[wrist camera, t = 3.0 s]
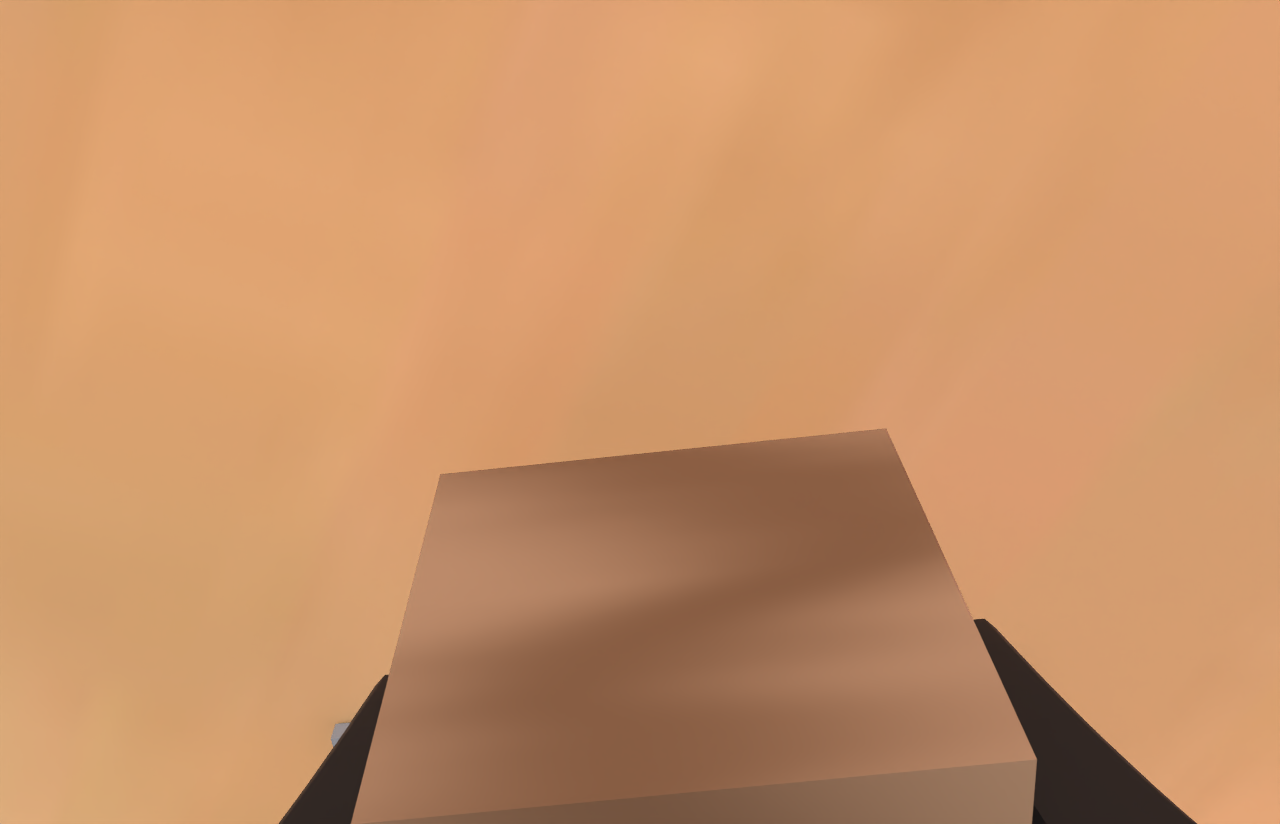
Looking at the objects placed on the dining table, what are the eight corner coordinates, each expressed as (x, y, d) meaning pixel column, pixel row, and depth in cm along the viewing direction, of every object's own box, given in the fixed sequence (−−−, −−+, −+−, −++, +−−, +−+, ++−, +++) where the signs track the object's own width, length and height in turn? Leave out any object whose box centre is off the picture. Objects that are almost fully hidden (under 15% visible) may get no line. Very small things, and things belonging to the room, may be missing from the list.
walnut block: (886, 429, 11) (1037, 759, 7) (887, 761, 13) (1005, 1159, 9) (441, 474, 11) (351, 823, 7) (510, 796, 14) (469, 1204, 10)
